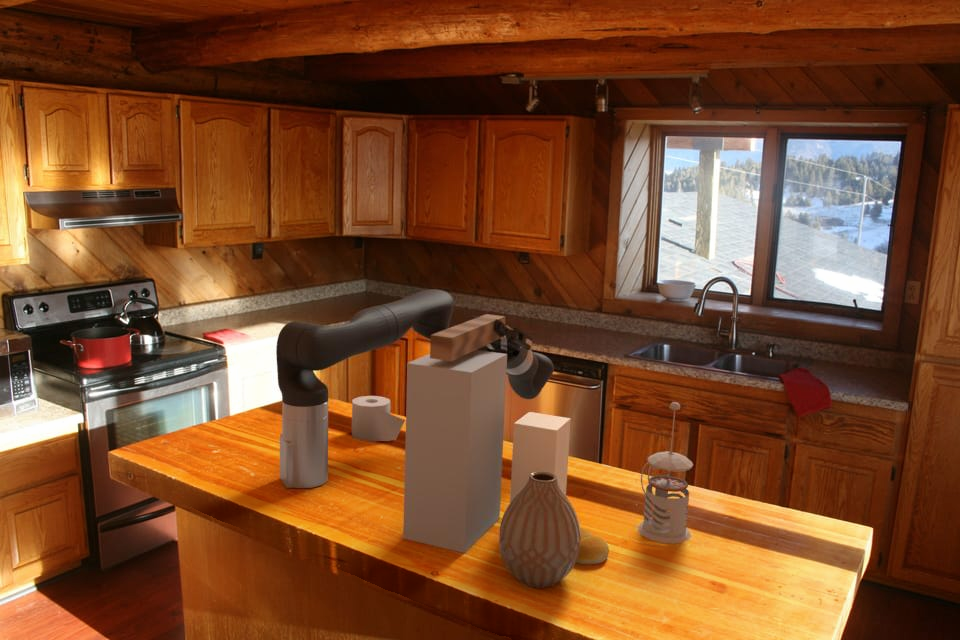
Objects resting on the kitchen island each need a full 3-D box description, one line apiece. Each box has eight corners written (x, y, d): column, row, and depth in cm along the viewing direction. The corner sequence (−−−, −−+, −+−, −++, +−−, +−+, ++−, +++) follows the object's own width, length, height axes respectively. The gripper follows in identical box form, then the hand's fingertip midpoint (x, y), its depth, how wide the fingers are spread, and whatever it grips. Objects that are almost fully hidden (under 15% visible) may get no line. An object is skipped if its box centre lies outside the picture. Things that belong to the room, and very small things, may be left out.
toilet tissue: (401, 443, 194) (402, 408, 192) (346, 439, 195) (347, 404, 194) (408, 431, 203) (409, 398, 201) (356, 427, 204) (357, 394, 203)
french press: (660, 547, 145) (672, 412, 140) (620, 521, 155) (630, 395, 151) (702, 537, 150) (715, 407, 145) (661, 513, 160) (671, 390, 155)
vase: (555, 607, 123) (561, 499, 120) (481, 582, 130) (486, 478, 127) (591, 573, 134) (598, 473, 131) (521, 551, 141) (526, 455, 138)
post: (550, 543, 145) (557, 430, 141) (508, 534, 148) (513, 423, 144) (563, 526, 152) (570, 418, 148) (523, 517, 155) (529, 411, 151)
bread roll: (587, 571, 136) (588, 549, 135) (549, 551, 142) (550, 529, 142) (619, 557, 141) (621, 536, 140) (581, 538, 148) (582, 518, 147)
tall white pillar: (464, 553, 140) (471, 372, 134) (403, 538, 144) (407, 363, 139) (499, 518, 154) (507, 354, 148) (442, 506, 159) (447, 346, 153)
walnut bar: (451, 361, 136) (452, 337, 135) (429, 358, 137) (430, 335, 136) (504, 336, 157) (505, 316, 157) (485, 334, 159) (486, 314, 158)
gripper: (539, 374, 164) (515, 345, 149) (475, 364, 169) (445, 336, 154) (547, 339, 166) (524, 308, 151) (483, 331, 171) (455, 300, 156)
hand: (484, 322), depth 153 cm, fingers closed on walnut bar, 4 cm apart
